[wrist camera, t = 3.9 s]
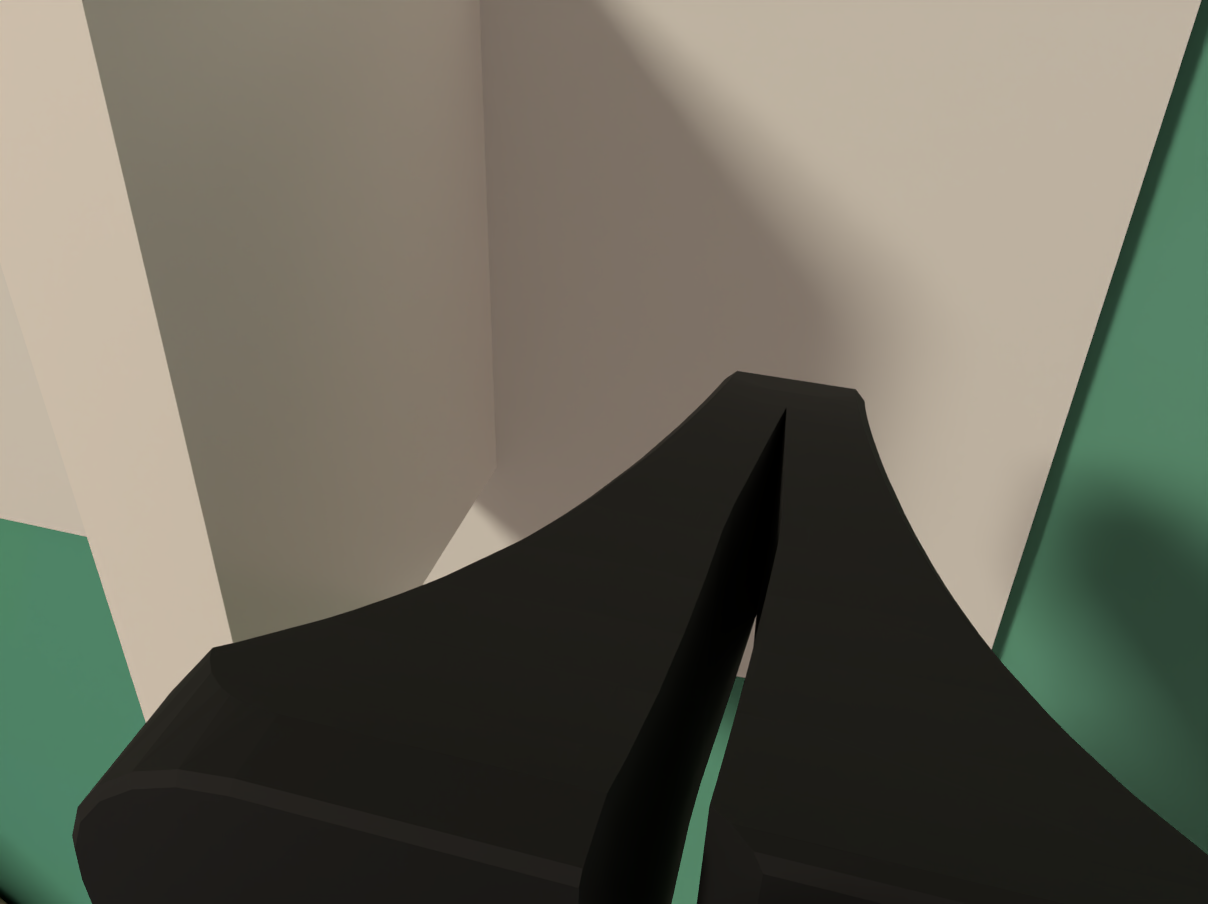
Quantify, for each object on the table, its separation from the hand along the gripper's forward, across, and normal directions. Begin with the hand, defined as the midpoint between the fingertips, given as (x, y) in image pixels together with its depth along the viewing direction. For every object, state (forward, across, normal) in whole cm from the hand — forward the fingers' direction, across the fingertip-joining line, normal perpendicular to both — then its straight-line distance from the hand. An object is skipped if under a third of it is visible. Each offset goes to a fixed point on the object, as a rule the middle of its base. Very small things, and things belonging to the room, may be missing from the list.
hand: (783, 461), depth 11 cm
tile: (+6, +6, 0) cm, 8 cm away
